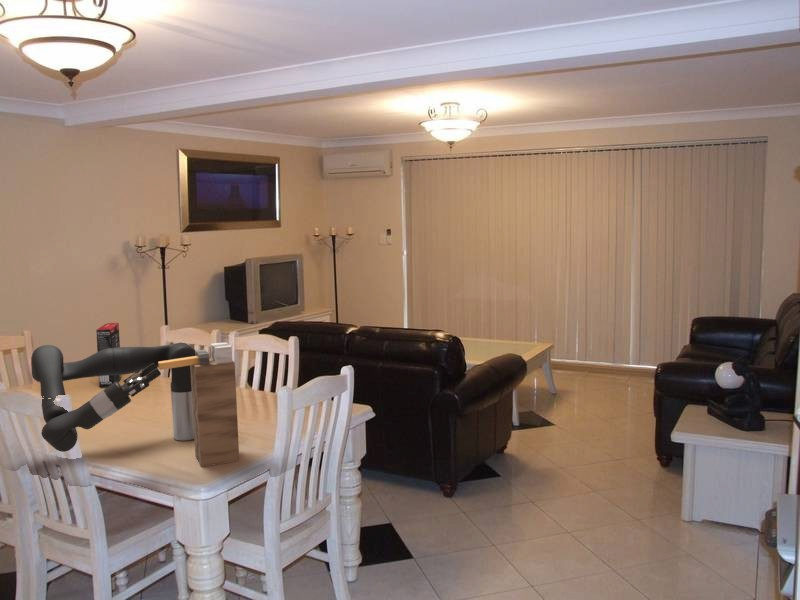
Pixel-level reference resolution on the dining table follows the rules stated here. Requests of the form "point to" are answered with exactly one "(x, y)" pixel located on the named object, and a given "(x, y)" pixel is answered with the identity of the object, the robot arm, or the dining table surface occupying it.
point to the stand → (215, 406)
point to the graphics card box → (108, 339)
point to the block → (178, 362)
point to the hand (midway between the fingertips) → (157, 368)
